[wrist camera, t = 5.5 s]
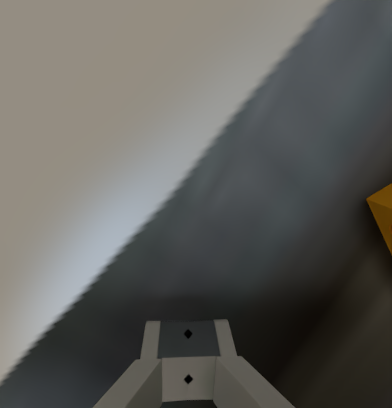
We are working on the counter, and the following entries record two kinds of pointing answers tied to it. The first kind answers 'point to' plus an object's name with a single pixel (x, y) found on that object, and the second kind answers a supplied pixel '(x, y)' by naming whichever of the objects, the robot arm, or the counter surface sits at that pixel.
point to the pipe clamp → (383, 212)
